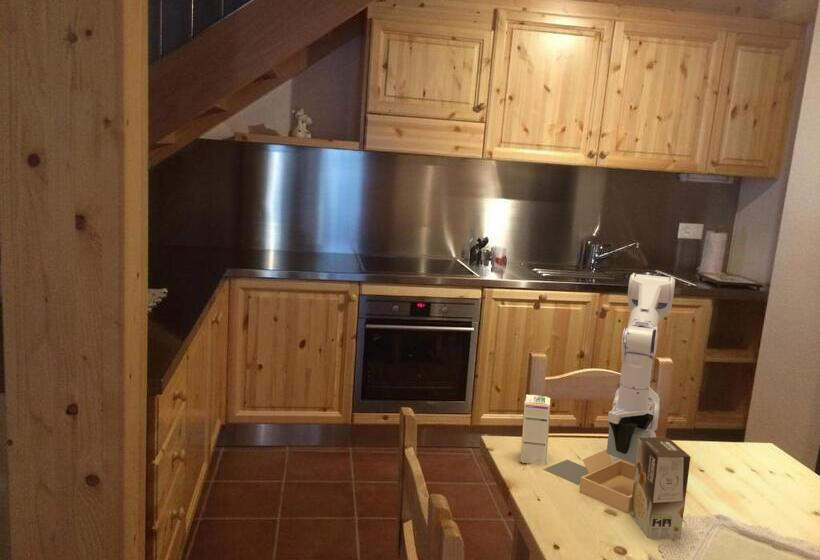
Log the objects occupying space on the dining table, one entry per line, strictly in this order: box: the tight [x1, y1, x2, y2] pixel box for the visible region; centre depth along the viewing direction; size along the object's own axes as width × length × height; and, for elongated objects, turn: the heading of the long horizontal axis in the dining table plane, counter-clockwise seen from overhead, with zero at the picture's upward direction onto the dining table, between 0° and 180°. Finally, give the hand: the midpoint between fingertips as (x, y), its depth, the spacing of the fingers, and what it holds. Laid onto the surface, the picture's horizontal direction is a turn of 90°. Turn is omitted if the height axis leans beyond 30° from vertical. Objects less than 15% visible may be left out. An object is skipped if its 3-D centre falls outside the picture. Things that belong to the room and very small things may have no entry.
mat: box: [542, 459, 589, 486], centre depth 149 cm, size 9×9×1 cm
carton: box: [578, 448, 635, 514], centre depth 140 cm, size 15×15×6 cm
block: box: [606, 424, 651, 464], centre depth 139 cm, size 4×7×6 cm, turn 42°
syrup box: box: [520, 394, 551, 466], centre depth 154 cm, size 6×6×14 cm
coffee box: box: [629, 436, 692, 540], centre depth 126 cm, size 9×6×16 cm
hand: (627, 449), depth 139 cm, fingers closed on block, 4 cm apart
